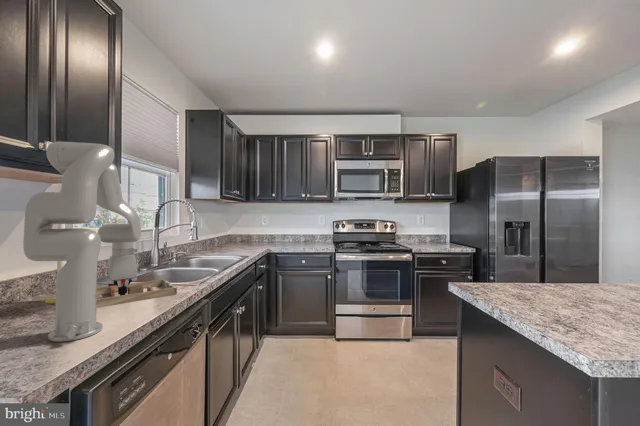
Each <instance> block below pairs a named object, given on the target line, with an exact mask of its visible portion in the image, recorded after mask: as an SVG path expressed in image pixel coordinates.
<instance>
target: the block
mask: <svg viewBox="0 0 640 426" xmlns="http://www.w3.org/2000/svg"><path fill="white" fill-rule="evenodd" d="M141 292H144V288H143V286H141V285H137V286H130V287H128V291H127V295H128V294H134V293H141Z"/></svg>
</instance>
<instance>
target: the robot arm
mask: <svg viewBox="0 0 640 426" xmlns="http://www.w3.org/2000/svg"><path fill="white" fill-rule="evenodd" d="M46 158H47V160H48V162H49V164H50V166H52V167H53V168H54V169H55V170H56V171H58V172H59V174H61V175H62V177H61V188H60V191H58V192H56V191H51V192H50V191H43V192H38V193H35V194H33V195H32V196H30V198H29V199H28V201H27V203H26V205H25V211H24V227H23V241H22V243H23V247H22V248H23V253H24V255H25V257H26V258H27V259H28V260H30V261H34V262H57V261H65V265H64V266H63V267H62V268H61V270H60V271H59V272H58V274H57V273H56V276H55V297H56V303H55V309H54V310H55V319H54V320H55V321H54V323H55V328H54V330H52V331H50V332H49V333H48V334H47V339H48V341H50V342H55V343H56V342H59V343H62V342H69V341H77V340H81V339H85V338H87V337H91V336H93V335H95V334H97V333H99V332H100V331H102V329H103V323H101V322H98V321H97V308H96V306H97V299H98V298H97V296H98V295H97V288H98V286H97V285H98V278H97V277H98V276H97V275H98V261H99V255H100V250H101V247H102V246H101V244H102V243H106V244H111V243H112V247H111V248H112V249H111V255H110V256H109V258H108V265H107V281H106V283H107V284H115V285H116V286H118V292H117V293H118V294H117V296H121V295H127V294H128V291H127V286H128V285H129V284H131V283H132V282H135V281H137V280H138V268H137V267H138V265H137V258H136V255H135V253H137V252H138V248H134V243H136V242H138V241H139V240H140V239H141V237H142V228H141V221H140V216H139V215H138V213H137V211H136V210H135V209H134V208H133V207H132V206H131V205H130V204H128V202H126V201H125V200H124V198H123V195H122V188H121V182H120V177H119V176H120V175H119V171H118V168H117V165H115V164H114V163H113V162H114V160H115V150H114V149H113V147H111V146H110V145H107V144H103V143H93V142H75V141H54V142H52V143H50V144H49V145H47V147H46ZM97 206H98V207H100V208H102V209H105V210H108V211H109V212H113V213H115V214H117V215H120V216H122V217H123V218H124V219H125V220H127V221H128V223H108V224H107V223H105V224H102V225H101V226H100V227H99V228H98V230H97V231H96V230H93V229H89V228H78V227H77V228H76V227H75V228H74V227H73V228H72V227H71V228H67V227H65V228H64V229H58V228H53V225H58V224H65V225H77V224H78V225H79V224H80V225H81V224H82V225H83V224H88V223H92V222H93V221H94V219H95V218H96V215H97ZM124 279H125V280H124ZM121 280H124V284H123V286H122V285H121Z"/></svg>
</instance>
